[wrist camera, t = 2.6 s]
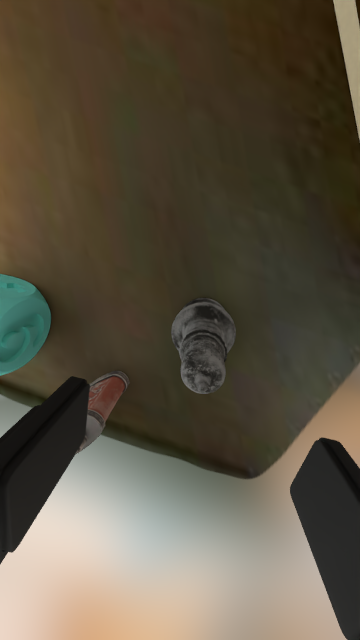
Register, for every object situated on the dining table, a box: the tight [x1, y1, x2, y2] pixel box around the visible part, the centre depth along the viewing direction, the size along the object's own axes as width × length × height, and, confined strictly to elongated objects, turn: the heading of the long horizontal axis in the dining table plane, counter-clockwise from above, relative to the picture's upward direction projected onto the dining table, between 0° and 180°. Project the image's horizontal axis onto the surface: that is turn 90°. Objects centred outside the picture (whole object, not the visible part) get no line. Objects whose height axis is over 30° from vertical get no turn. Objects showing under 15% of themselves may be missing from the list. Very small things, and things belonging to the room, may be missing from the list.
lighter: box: [76, 371, 129, 454], centre depth 22 cm, size 8×3×10 cm, turn 127°
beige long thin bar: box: [333, 0, 360, 140], centre depth 16 cm, size 12×1×1 cm, turn 24°
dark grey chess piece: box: [171, 298, 236, 394], centre depth 17 cm, size 6×6×12 cm
